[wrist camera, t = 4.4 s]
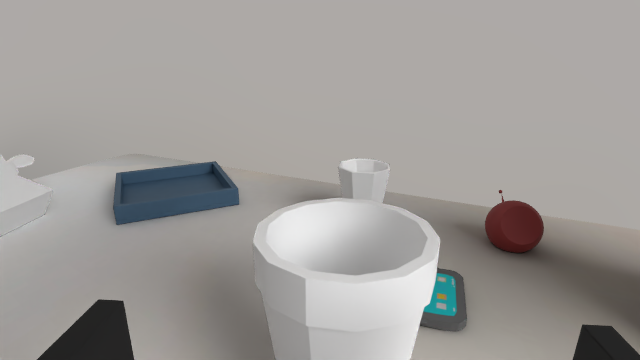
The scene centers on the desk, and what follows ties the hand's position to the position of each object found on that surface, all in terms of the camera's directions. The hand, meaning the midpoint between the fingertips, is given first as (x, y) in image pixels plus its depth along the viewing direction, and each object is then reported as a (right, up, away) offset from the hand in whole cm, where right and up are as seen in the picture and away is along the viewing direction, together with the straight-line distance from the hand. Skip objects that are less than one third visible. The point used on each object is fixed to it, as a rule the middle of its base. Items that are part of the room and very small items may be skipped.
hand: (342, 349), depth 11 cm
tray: (-24, +2, +50) cm, 55 cm away
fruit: (+22, -3, +35) cm, 42 cm away
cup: (+6, -1, +41) cm, 42 cm away
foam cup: (+1, -10, +13) cm, 16 cm away
